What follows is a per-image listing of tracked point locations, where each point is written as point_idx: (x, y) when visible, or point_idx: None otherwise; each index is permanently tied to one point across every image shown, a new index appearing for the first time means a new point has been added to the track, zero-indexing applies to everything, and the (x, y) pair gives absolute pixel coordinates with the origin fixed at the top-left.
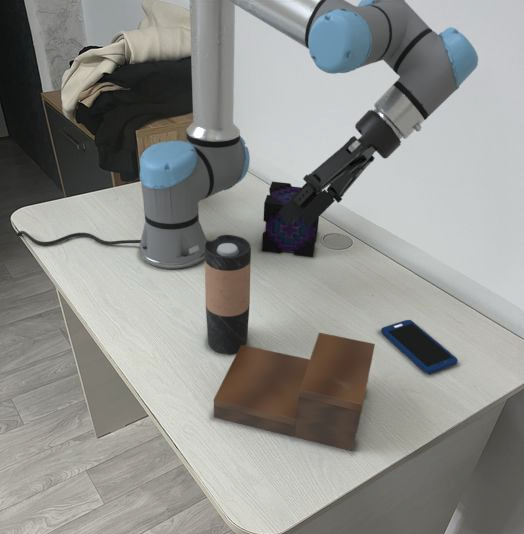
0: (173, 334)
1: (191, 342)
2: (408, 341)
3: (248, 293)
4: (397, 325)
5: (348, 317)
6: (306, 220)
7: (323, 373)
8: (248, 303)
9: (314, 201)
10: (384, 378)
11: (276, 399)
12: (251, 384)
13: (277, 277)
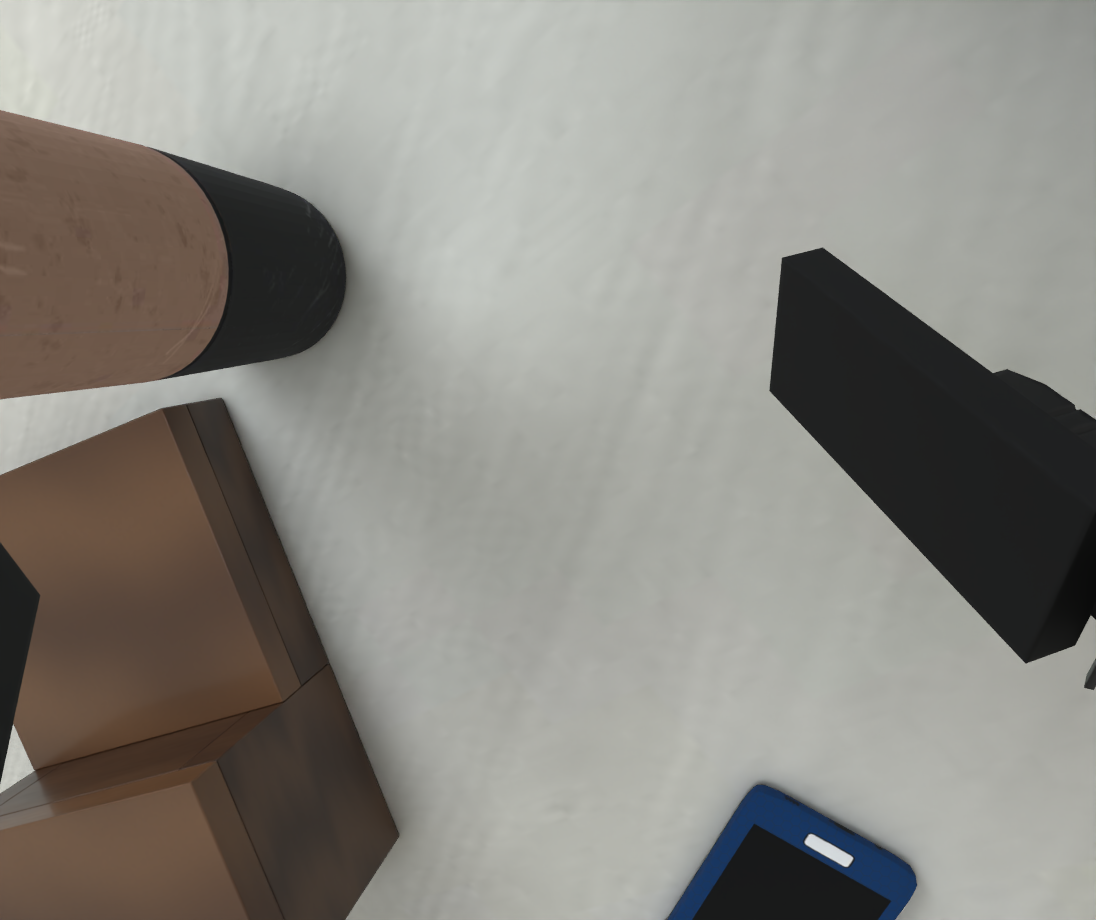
0: (158, 49)
1: (174, 153)
2: (741, 917)
3: (95, 385)
4: (829, 846)
5: (771, 616)
6: (783, 355)
7: (17, 893)
8: (147, 379)
9: (928, 392)
10: (496, 877)
11: (50, 679)
12: (41, 573)
13: (884, 97)
